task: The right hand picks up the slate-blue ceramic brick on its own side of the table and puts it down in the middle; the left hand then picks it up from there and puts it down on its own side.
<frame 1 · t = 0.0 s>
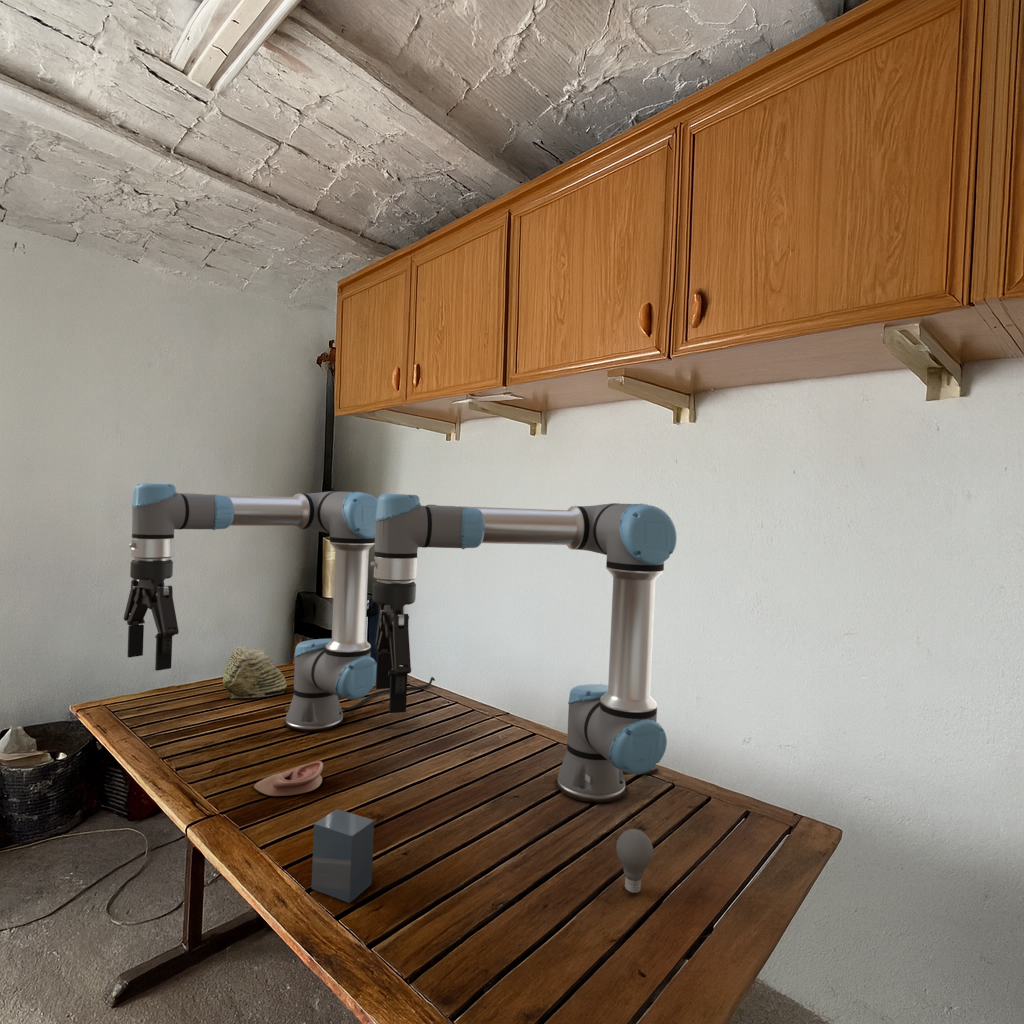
left hand: (148, 662, 129), 28 cm above the table, tool pointing down, fingers open, 13 cm apart
right hand: (390, 699, 113), 28 cm above the table, tool pointing down, fingers open, 13 cm apart
light bulb: (632, 891, 106), on the table
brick: (341, 886, 104), on the table
anatomical model: (288, 785, 138), on the table
fossil: (254, 694, 198), on the table
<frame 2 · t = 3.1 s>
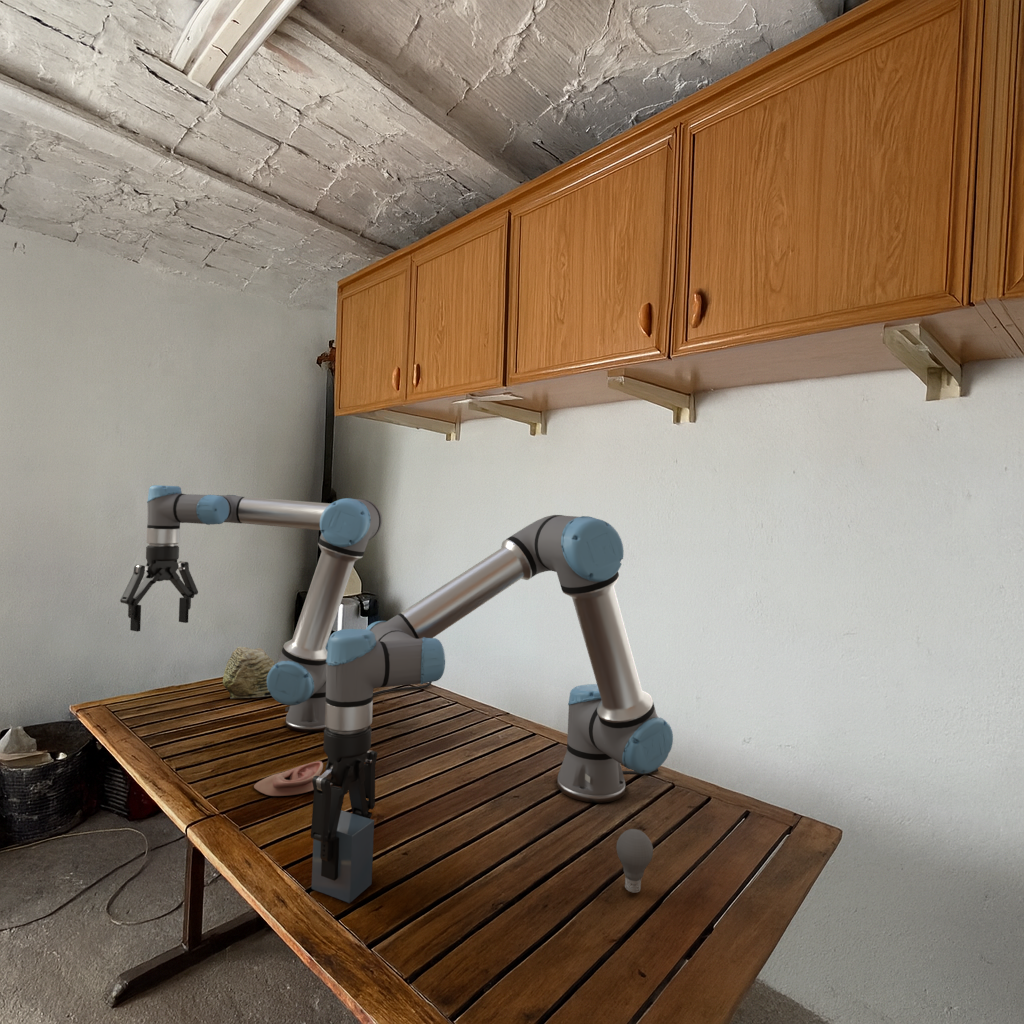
left hand: (160, 626, 165), 28 cm above the table, tool pointing down, fingers open, 13 cm apart
right hand: (342, 866, 104), 3 cm above the table, tool pointing down, fingers closed on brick, 6 cm apart
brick: (341, 886, 104), on the table, touching right hand
everything else where it was.
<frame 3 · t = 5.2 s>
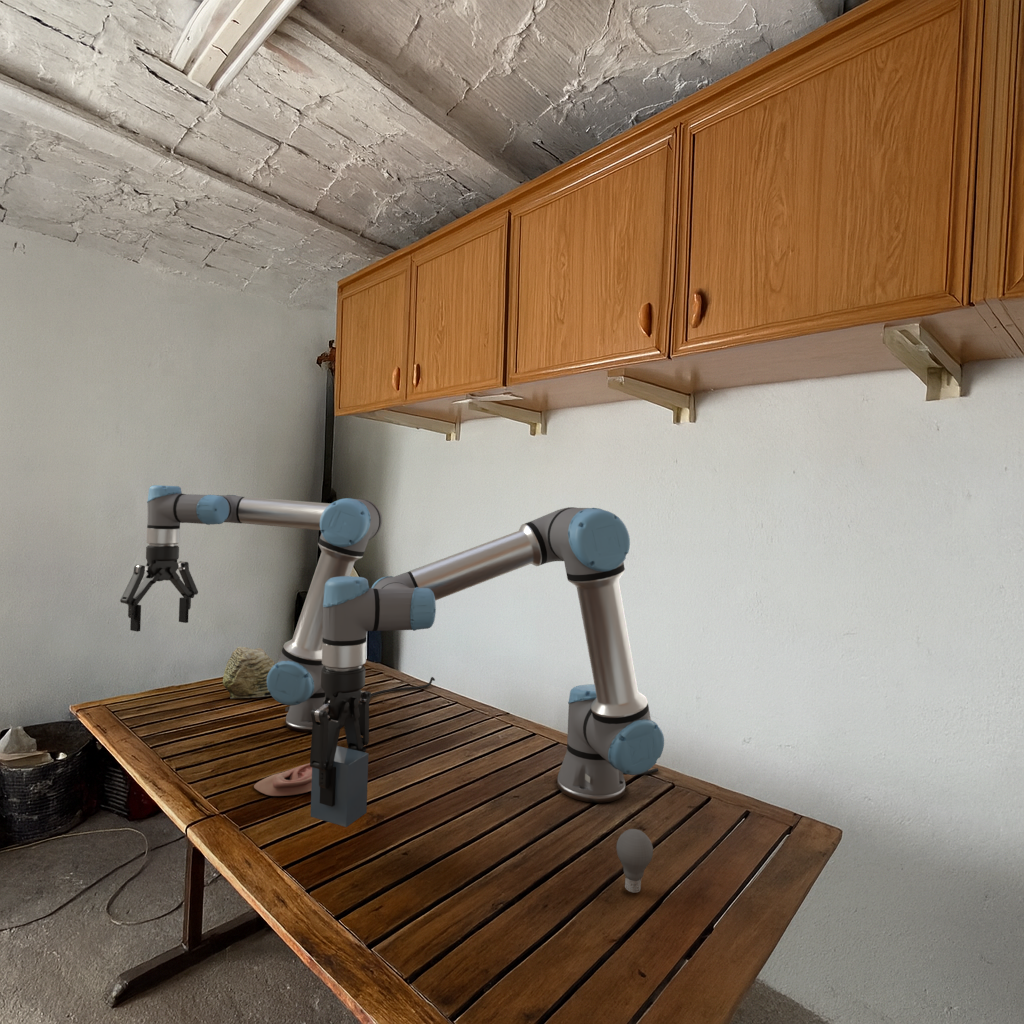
left hand: (160, 626, 165), 28 cm above the table, tool pointing down, fingers open, 13 cm apart
right hand: (339, 795, 111), 11 cm above the table, tool pointing down, fingers closed on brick, 6 cm apart
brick: (338, 814, 112), point 8 cm above the table, touching right hand
everything else where it was.
when the right hand's fingers open (4 cm above the table, at t = 7.4 s): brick stays where it is, on the table.
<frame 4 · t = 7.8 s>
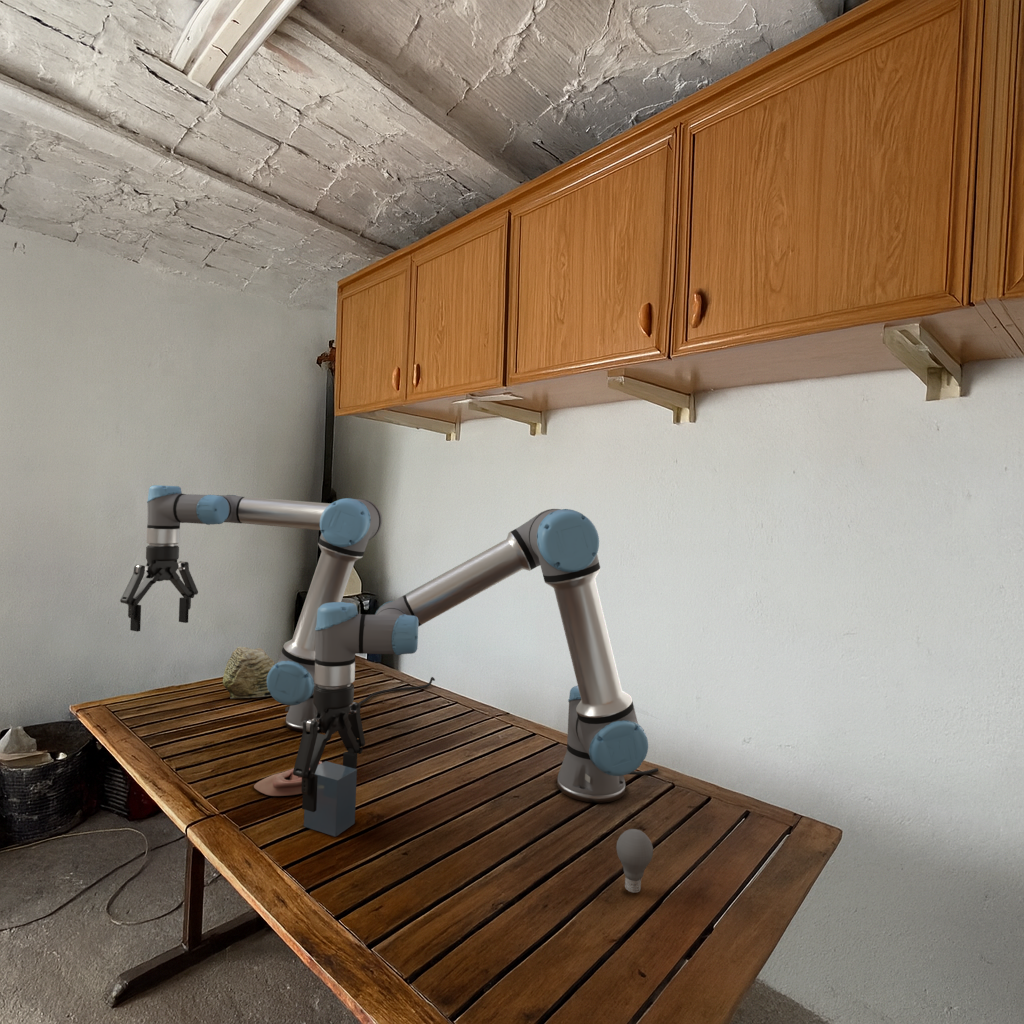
left hand: (160, 626, 165), 28 cm above the table, tool pointing down, fingers open, 13 cm apart
right hand: (329, 797, 122), 5 cm above the table, tool pointing down, fingers open, 10 cm apart
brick: (329, 825, 123), on the table
everything else where it was.
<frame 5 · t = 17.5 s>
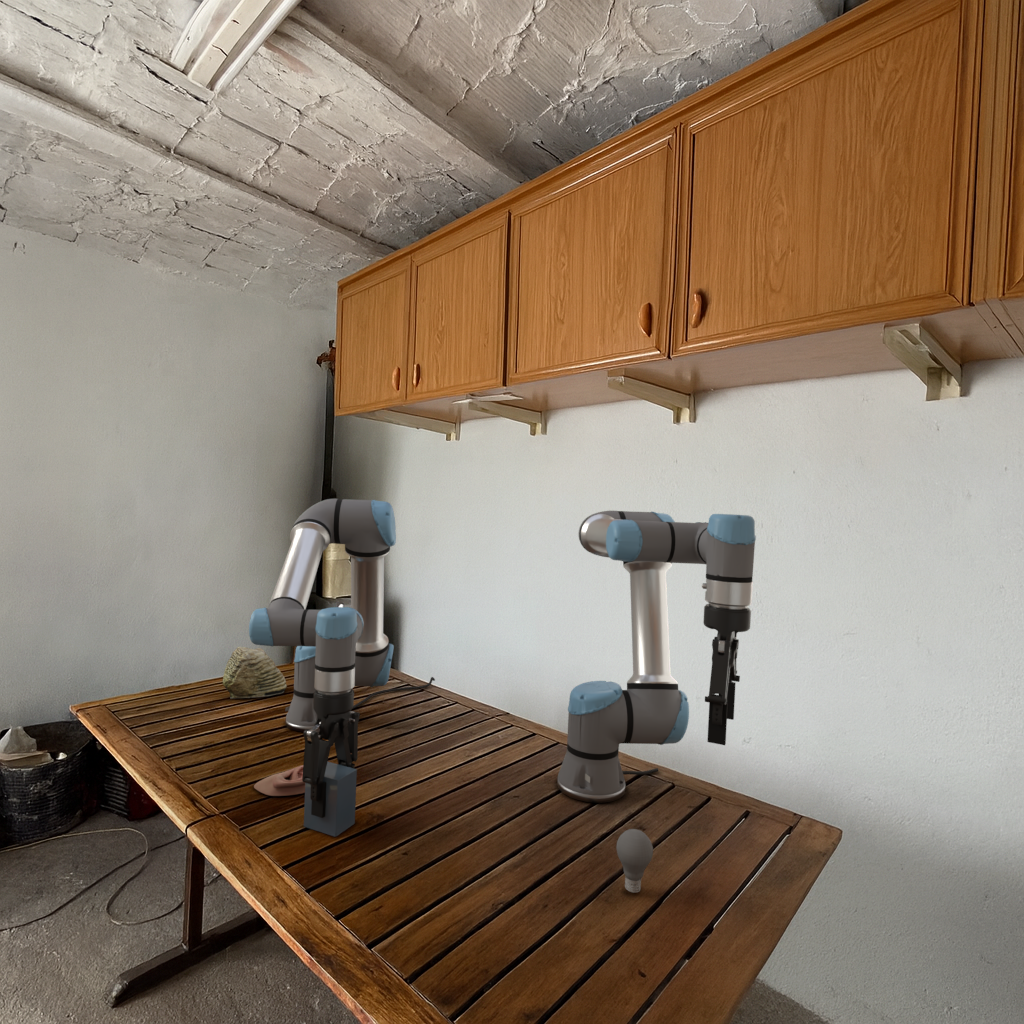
left hand: (329, 807, 122), 3 cm above the table, tool pointing down, fingers closed on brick, 6 cm apart
right hand: (721, 729, 107), 27 cm above the table, tool pointing down, fingers open, 13 cm apart
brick: (329, 825, 123), on the table, touching left hand
everything else where it was.
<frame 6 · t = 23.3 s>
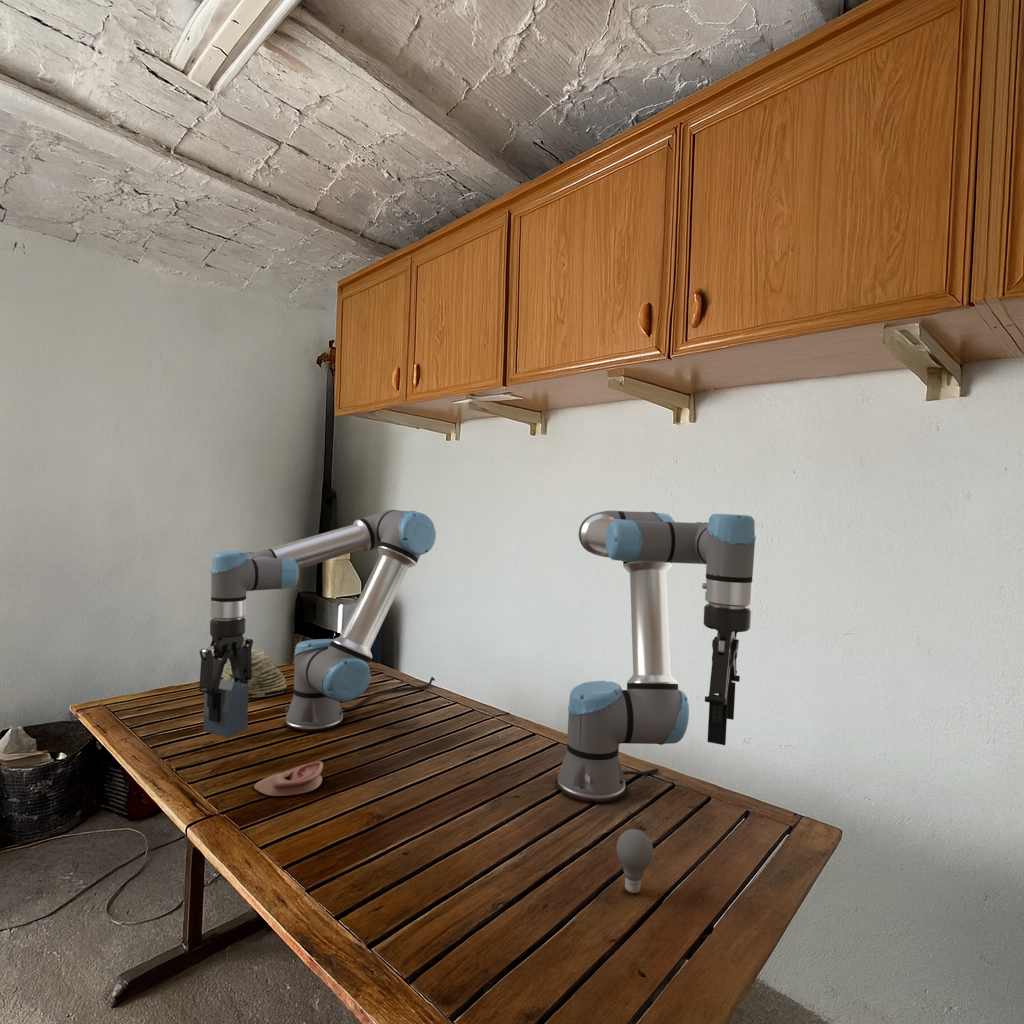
left hand: (225, 716, 148), 11 cm above the table, tool pointing down, fingers closed on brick, 6 cm apart
right hand: (721, 729, 107), 27 cm above the table, tool pointing down, fingers open, 13 cm apart
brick: (225, 730, 148), point 8 cm above the table, touching left hand
everything else where it was.
when the left hand's fingers open (4 cm above the table, at t = 29.1 s): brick drops 1 cm, on the table.
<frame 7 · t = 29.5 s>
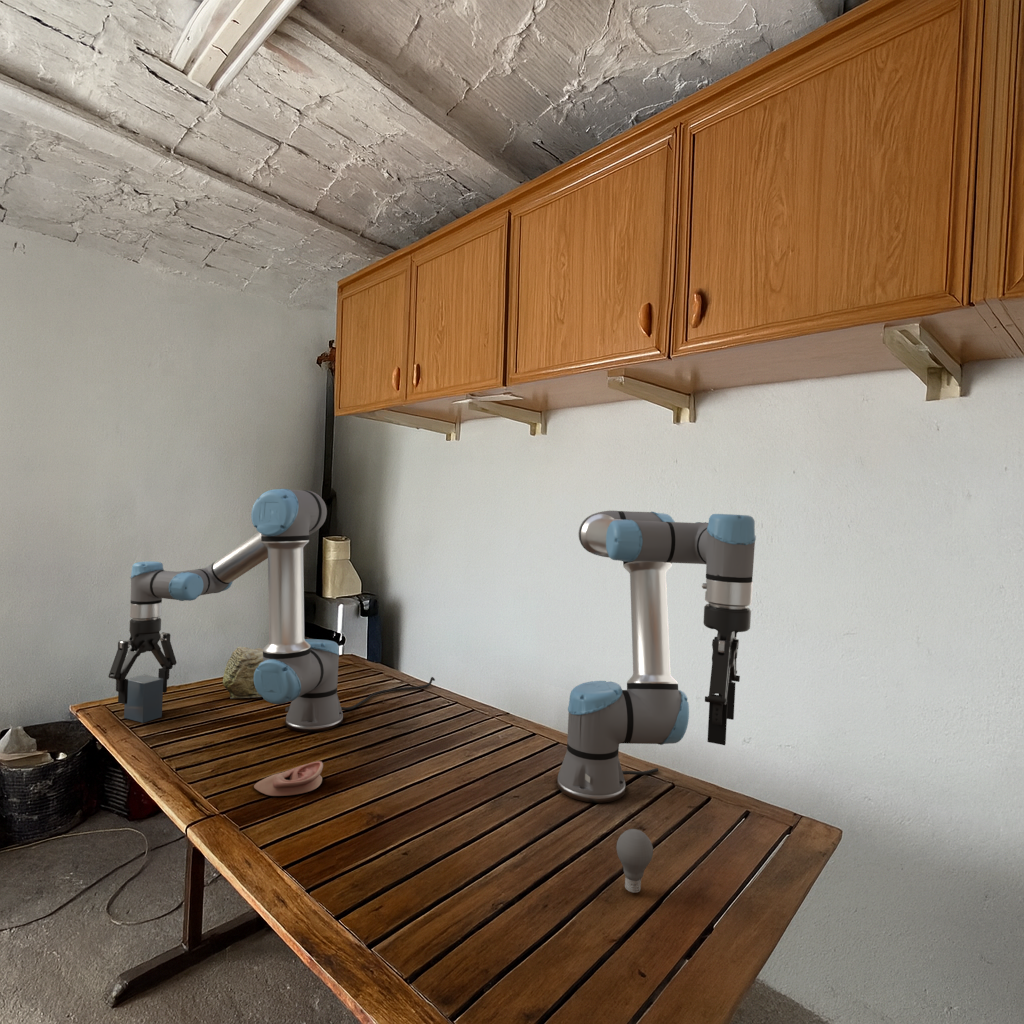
left hand: (143, 697, 175), 6 cm above the table, tool pointing down, fingers open, 11 cm apart
right hand: (721, 729, 107), 27 cm above the table, tool pointing down, fingers open, 13 cm apart
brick: (143, 717, 175), on the table
everything else where it was.
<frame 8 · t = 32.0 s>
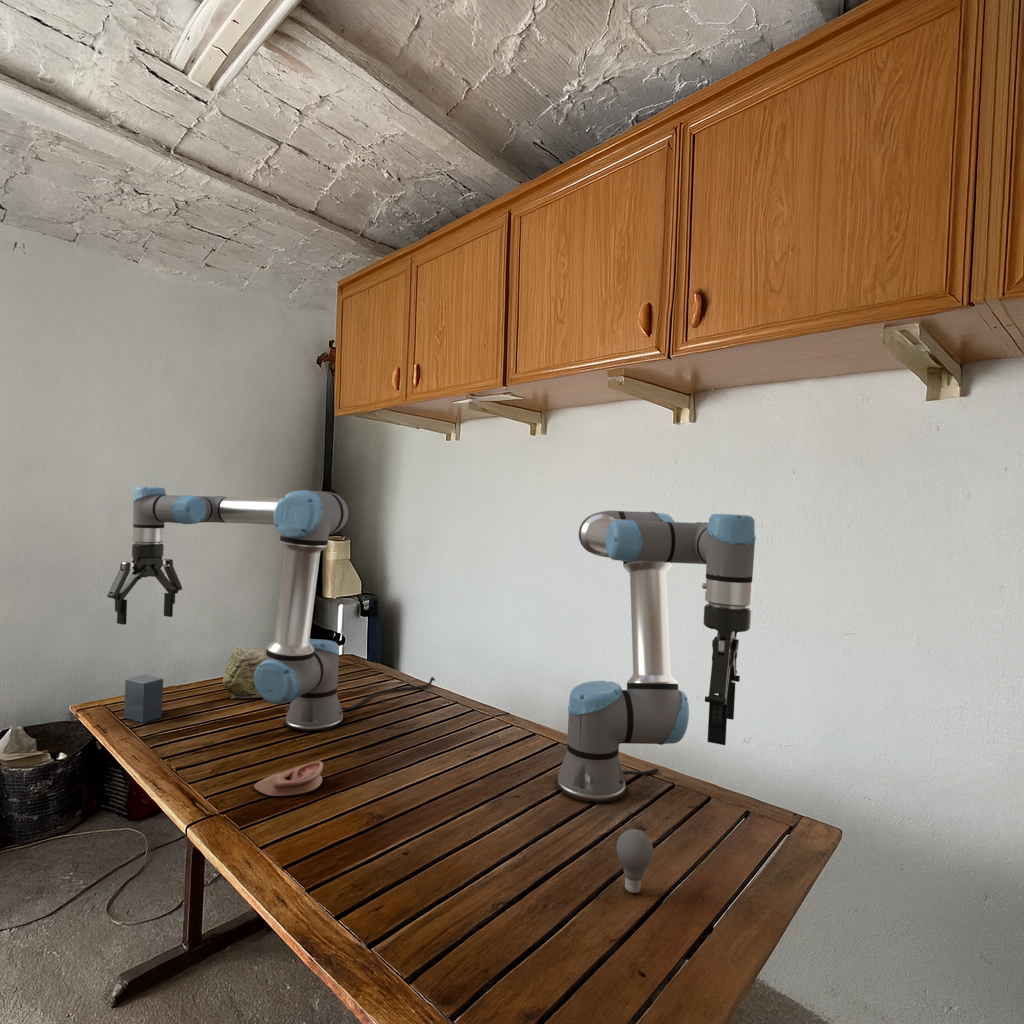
left hand: (145, 620, 174), 27 cm above the table, tool pointing down, fingers open, 13 cm apart
right hand: (721, 729, 107), 27 cm above the table, tool pointing down, fingers open, 13 cm apart
nothing on the table moved.
at the end: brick inside the target area (0.2 cm from its centre), on the table; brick tilted 0°; the two hands never held the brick at the same time; the left hand is holding nothing; the right hand is holding nothing; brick at rest at the end (0.0 cm/s) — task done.
